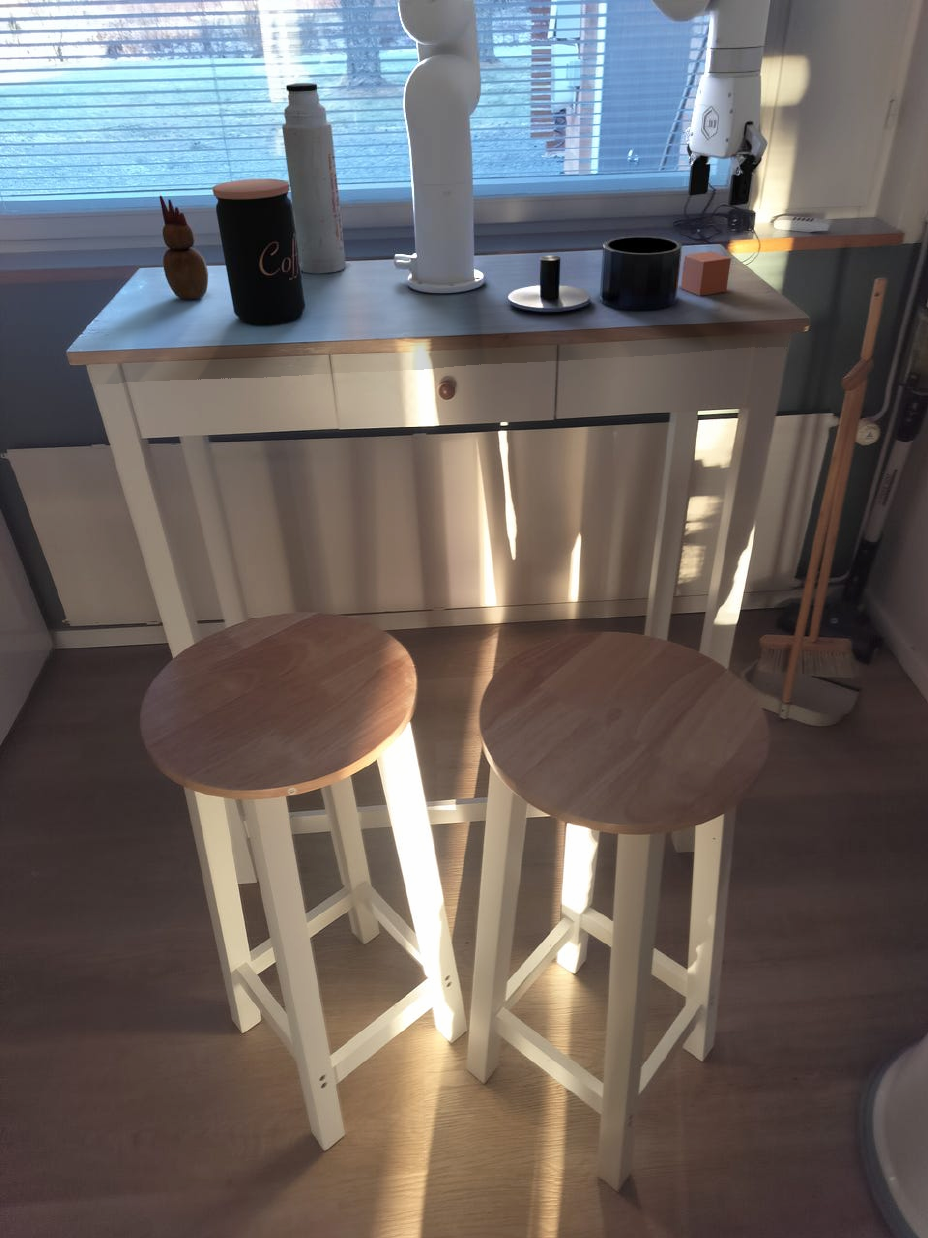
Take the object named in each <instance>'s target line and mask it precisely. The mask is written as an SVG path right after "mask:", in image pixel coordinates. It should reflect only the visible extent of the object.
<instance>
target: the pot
mask: <svg viewBox="0 0 928 1238" xmlns="http://www.w3.org/2000/svg"><path fill="white" fill-rule="evenodd" d="M682 251H683V244H682V243H681V242H679V241H677V240H675V239H671V238H667V237H660V236H648V235H647V236H645V235H633V236H621V237H616V238H612V239H609V240H607V241H605V242H604V243H603V244H602V257H601V270H600V271H601V272H600V286H599V287H600V290H599V300H600V301H599V302H601V304H603V305H604V306H606V307H609V308H611V309H615V310H621V311H626V312H627V311H628V312H651V311H660V310H663V309H668V308H670V307H672V306H673V305H675V304H676V301H677V296H678V295H677V294H678V288H679V287H678V286H679V279H680V278H679V277H680V270H681V269H680V268H681V262H682Z"/></svg>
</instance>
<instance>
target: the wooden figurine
mask: <svg viewBox="0 0 928 1238" xmlns="http://www.w3.org/2000/svg"><path fill="white" fill-rule="evenodd" d="M158 197H159V202H160V207H161V213H162V217H163V222H164V226H163V228H162V238H163V241H164V244H165V246H166V247H167V248H168V249H167V250H166V251H165V252H164V255H163V257H162V258H163V259H162V265H163V266H162V267H163V272H164V276H165V278H166V281H167V284H168V286H169V287H170V289H171V291H172V292H173V294H174V295H175V297H177V298H179V299H180V300H184V301H194V300H197V299H200V298H202V297H204V296H205V294H206V293H207V289H208V284H209V270H208V266H207V264H206V260H205V258H204V257H203V255H202V254H201V252H200V251H198V250H197V249H196V248H194V247H193V246H194V245H195V242H196V240H195V239H196V238H195V232H194V230H193V228H192V226H191V225H190V224H189V223H188V221H187V219H186V216H185V214H184V212H180V211H179V207H178V206H176V207H174V206H173V202H172V200H171V198H169V199H167V200H168V201H167V202H168V206H167V204H166V203H165V201H164V197H163V196H162V195H159V196H158Z"/></svg>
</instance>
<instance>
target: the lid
mask: <svg viewBox="0 0 928 1238" xmlns="http://www.w3.org/2000/svg"><path fill="white" fill-rule="evenodd" d="M561 258H562V257H560V256H558V255H543V256H541V257H540V259H539V263H540V264H539V285H530V286H525V287H521V288H518V289H515V290H513V291H511V292H510V293H509V295H508V302H509V304H510V305H511V306H513V307H515V308H518V309H521V310H525V311H529V312H535V313H536V312H537V313H562V312H567V311H572V310H573V311H574V310H577V309H580V308H583V307H585V306H587V305H588V304H589V303H590V302H591V295H590V293H589V292H588V291H586V290H584V289H582V288H578V287H576V286H570V285H561V283H560V282H561Z"/></svg>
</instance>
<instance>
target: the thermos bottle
mask: <svg viewBox="0 0 928 1238" xmlns="http://www.w3.org/2000/svg"><path fill="white" fill-rule="evenodd" d="M285 87H286V88H285V89H286V91H287V92H288V95H287V99H288V106H286V107H285V108H284V113H283V116H284V119H285V123H284V124H282V126H281V129H282V137H283V144H284V152H285V159H286V160H285V161H286V166H287V174H288V183H289V188H290V190H289V192H290V198H291V204H292V208H293V216H294V224H295V231H296V239H297V247H298V254H299V262H300V270H301V272H304V273H308V274H330V273H335V272H340V271H342V270H345V268H346V266H347V264H346V255H345V245H344V235H343V224H342V216H341V215H342V214H341V205H340V196H339V195H340V194H339V187H338V176H337V165H336V156H335V148H334V147H335V146H334V137H333V126H332V123H331V122H330V121H328V120H327V119H328V118H327V114H328V113H327V112H326V107H325V106H324V105H323V104H321V102H320V96H319V93H318V84H317V83H313V82H312V83H311V82H297V83H291V84H286V85H285Z"/></svg>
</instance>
